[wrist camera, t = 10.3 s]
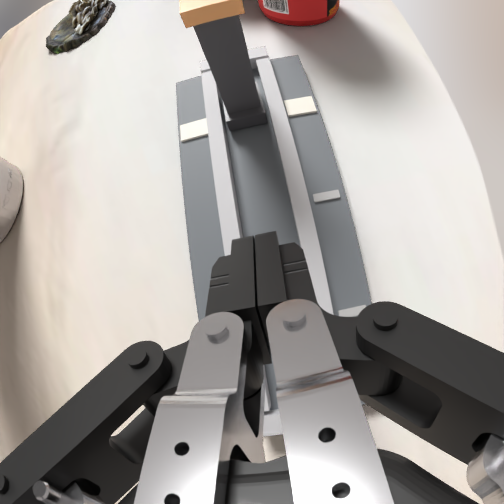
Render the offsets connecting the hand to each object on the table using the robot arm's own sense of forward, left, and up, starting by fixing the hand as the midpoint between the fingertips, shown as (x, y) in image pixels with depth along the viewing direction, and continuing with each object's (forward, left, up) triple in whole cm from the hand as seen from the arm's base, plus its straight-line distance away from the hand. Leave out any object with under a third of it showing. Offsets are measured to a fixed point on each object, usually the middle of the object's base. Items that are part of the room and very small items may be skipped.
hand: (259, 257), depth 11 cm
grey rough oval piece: (-19, +38, -9) cm, 44 cm away
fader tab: (0, +12, -7) cm, 14 cm away
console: (0, +5, -9) cm, 10 cm away
